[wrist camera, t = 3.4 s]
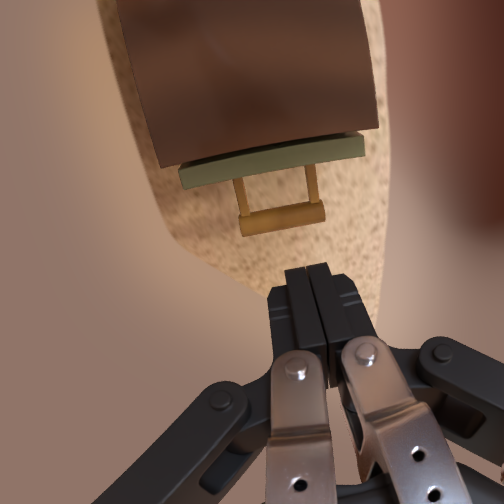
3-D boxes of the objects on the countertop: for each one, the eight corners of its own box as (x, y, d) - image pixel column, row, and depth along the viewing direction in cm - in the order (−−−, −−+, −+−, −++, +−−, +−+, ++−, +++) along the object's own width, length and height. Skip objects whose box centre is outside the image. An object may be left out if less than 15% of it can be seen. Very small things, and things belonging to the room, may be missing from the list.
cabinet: (332, 105, 22) (379, 128, 14) (186, 133, 23) (160, 169, 15) (297, -57, 15) (326, -107, 7) (146, -28, 15) (102, -66, 8)
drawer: (337, 189, 25) (368, 234, 19) (214, 213, 26) (207, 265, 19) (299, -32, 15) (324, -66, 9) (158, -5, 16) (126, -31, 10)
